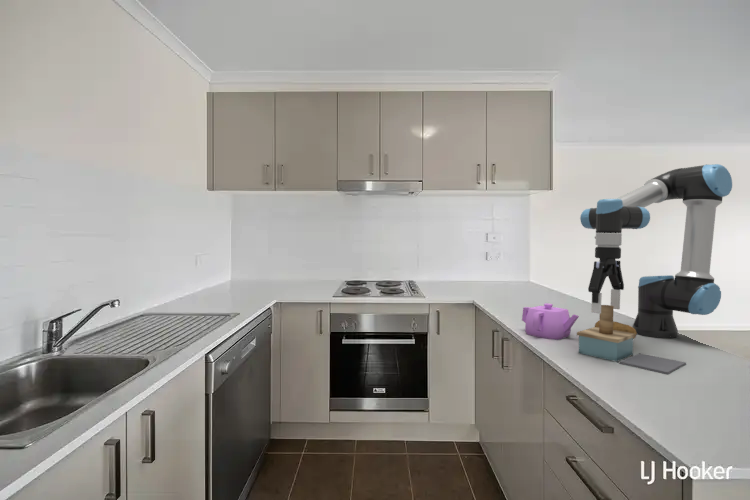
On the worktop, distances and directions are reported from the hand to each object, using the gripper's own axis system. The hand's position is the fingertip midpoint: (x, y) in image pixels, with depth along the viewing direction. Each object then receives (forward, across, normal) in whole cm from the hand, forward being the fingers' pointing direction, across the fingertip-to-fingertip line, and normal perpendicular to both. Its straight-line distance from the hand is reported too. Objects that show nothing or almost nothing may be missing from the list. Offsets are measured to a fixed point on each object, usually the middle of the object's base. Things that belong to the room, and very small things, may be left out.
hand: (605, 310), depth 145 cm
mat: (+14, 0, +14) cm, 20 cm away
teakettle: (+15, -11, -26) cm, 32 cm away
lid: (+8, 0, 0) cm, 8 cm away
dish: (+14, 0, 0) cm, 14 cm away
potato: (+14, -17, -4) cm, 23 cm away
